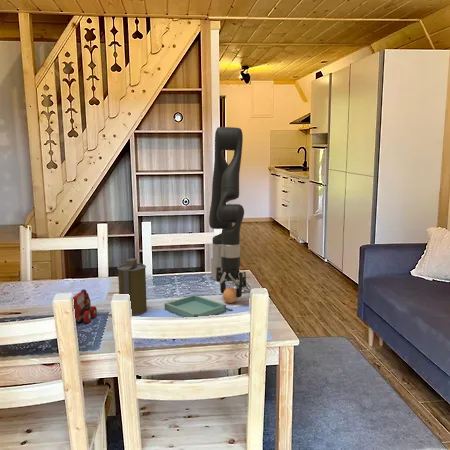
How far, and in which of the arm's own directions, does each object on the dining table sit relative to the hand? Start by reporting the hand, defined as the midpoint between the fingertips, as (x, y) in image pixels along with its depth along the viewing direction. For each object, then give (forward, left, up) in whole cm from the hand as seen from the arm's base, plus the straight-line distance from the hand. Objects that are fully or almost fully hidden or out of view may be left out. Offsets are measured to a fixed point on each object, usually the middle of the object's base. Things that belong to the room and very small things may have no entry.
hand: (230, 295), depth 174 cm
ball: (0, 0, 0) cm, 0 cm away
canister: (-19, -33, -3) cm, 38 cm away
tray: (-3, -16, -3) cm, 17 cm away
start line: (-2, -6, -3) cm, 7 cm away
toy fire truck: (-25, -50, -4) cm, 56 cm away
